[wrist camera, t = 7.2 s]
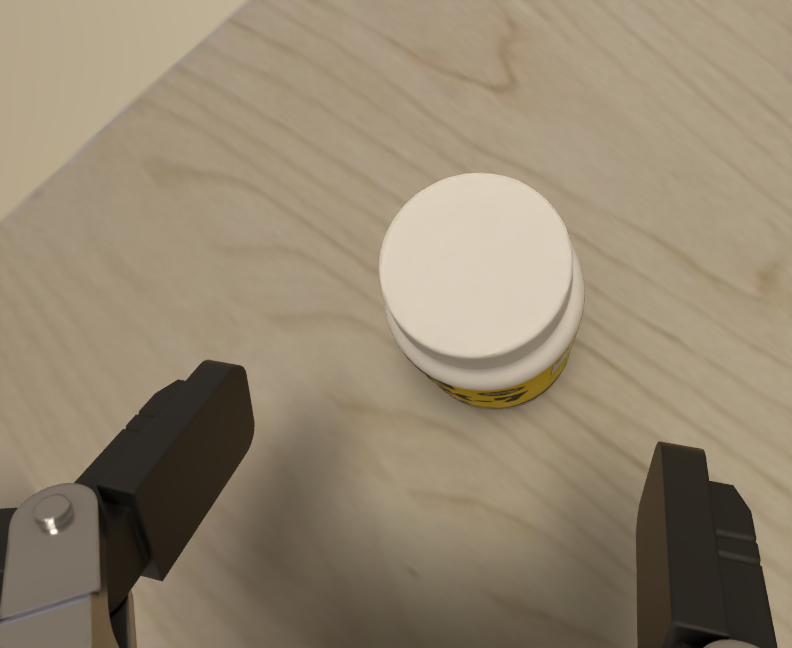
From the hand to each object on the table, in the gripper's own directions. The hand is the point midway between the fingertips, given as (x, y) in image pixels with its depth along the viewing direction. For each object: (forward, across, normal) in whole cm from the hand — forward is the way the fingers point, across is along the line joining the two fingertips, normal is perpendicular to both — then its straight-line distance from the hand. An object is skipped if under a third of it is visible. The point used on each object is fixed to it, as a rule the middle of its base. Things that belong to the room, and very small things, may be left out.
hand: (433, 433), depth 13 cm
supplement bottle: (+9, 0, +4) cm, 9 cm away
